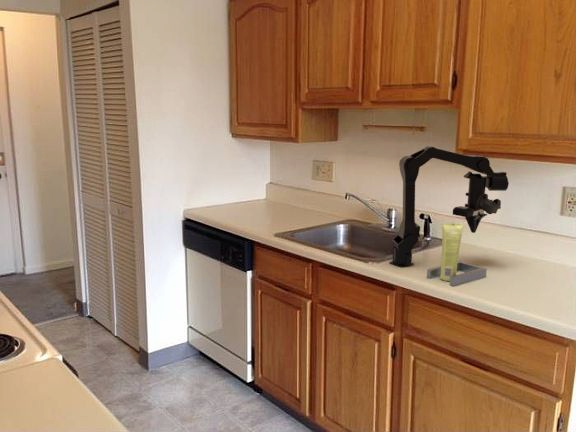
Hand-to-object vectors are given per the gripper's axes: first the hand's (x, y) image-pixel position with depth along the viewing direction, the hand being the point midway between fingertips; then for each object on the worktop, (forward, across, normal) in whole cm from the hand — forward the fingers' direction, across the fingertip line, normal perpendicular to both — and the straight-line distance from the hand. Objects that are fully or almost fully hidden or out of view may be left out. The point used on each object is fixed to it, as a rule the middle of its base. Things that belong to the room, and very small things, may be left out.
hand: (473, 232), depth 195 cm
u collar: (+12, -18, -7) cm, 23 cm away
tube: (+12, -22, -7) cm, 26 cm away
